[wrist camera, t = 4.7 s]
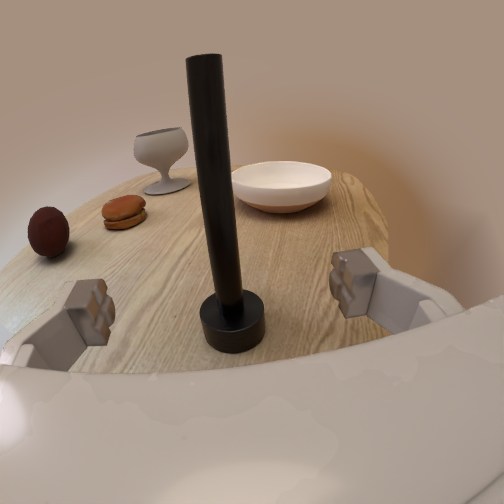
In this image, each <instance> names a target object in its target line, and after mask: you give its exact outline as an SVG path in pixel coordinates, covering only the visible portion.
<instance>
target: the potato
mask: <svg viewBox="0 0 504 504" xmlns="http://www.w3.org/2000/svg"><path fill="white" fill-rule="evenodd" d="M28 239H29V242H30V244H31V247H32V248H33V250H34V251H35V252H36V253H38V254H39V255H41V256H45V257H54V256H56V255H58V254H60V253H61V252H62V251H63V250H64V249H65V247H66V245H67V243H68V240H69V225H68V221H67V220H66V218H65V216H64V215H63V213H62V212H61V211H59V210H58V209H56V208H55V207H43V208H40V209H39V210H37V211H36V212H35V213H34V214H33V216H32V218H31V219H30V222H29V226H28Z"/></svg>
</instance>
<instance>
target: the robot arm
mask: <svg viewBox="0 0 504 504" xmlns="http://www.w3.org/2000/svg"><path fill="white" fill-rule="evenodd" d="M331 264H332V265H333V267H334V269H333V270H332V271H331V272H330V276H329V286H330V291H331V294H332V296H333V297H334V298H335V299H336V300H338V301H339V306H338V307H339V308H340V310H341V312H342V314H343V316H344V317H345V319H347V318H352V317H358V316H363V315H367V317H369V318H370V319H372V320H373V321H375V322H376V323H378V324H379V325H381V326H382V327H383V328H385V329H386V330H388V331H389V332H391V333H392V334H394V335H391V336H388V337H384V338H380V339H377V340H373V341H369V342H366V343H362V344H358V345H354V346H350V347H345V348H341V349H337V350H332V351H327V352H323V353H318V354H313V355H308V356H302V357H297V358H291V359H285V360H279V361H273V362H266V363H259V364H252V365H245V366H237V367H228V368H219V369H208V370H196V371H182V372H164V373H87V372H69V371H68V370H69V369H70V368H71V366H72V365H73V364H74V363H75V361H76V360H77V359H78V358H79V357H80V356H81V354H82V353H83V352H84V351H85V350H86V348H87V346H107V343H108V340H109V337H110V333H111V331H110V329H109V327H110V326H111V325H112V324H113V323H114V320H115V306H114V302H113V300H112V298H111V297H110V296H109V295H107V294H106V292H107V289H108V288H107V285H106V283H105V281H104V280H103V279H89V280H76V281H69V282H66V283H65V285H64V287H63V288H62V290H61V292H60V294H59V295H58V297H57V299H56V301H55V302H54V304H53V306H52V308H51V309H47V310H46V311H44V312H43V313H42V314H41V315H39V316H38V317H37V318H35V319H34V320H33V321H32V322H30V323H29V324H28V325H26V326H25V327H24V328H23V329H22V330H20V331H19V332H18V333H17V334H15V335H14V336H13V337H12V338H10V339H9V340H8V341H7V342H6V344H5V346H4V348H3V350H2V352H1V354H0V504H504V294H502V295H500V296H498V297H496V298H494V299H491V300H489V301H487V302H484V303H482V304H480V305H477V306H475V307H472V308H470V309H467V310H465V309H464V308H463V307H462V306H461V304H460V303H459V302H458V301H457V300H456V299H455V298H454V297H453V296H452V294H450V292H448V291H446V290H443V289H441V288H439V287H436V286H434V285H432V284H430V283H428V282H425V281H423V280H421V279H418V278H416V277H414V276H411V275H409V274H407V273H404V272H402V271H400V270H397V269H396V270H393V269H392V268H391V267H390V266H389V264H388V263H387V262H386V261H385V260H384V259H383V258H382V257H381V256H380V255H379V253H378V252H377V251H376V250H375V249H374V248H372V247H366V248H360V249H354V250H348V251H341V252H334V253H333V255H332V259H331Z"/></svg>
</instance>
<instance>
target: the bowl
mask: <svg viewBox="0 0 504 504" xmlns="http://www.w3.org/2000/svg"><path fill="white" fill-rule="evenodd" d="M231 174H232V185H233V191H234V193H235V195H236V196H237V197H238V198H240V199H241V200H242V201H244V202H245V203H246V204H248V205H250V206H252V207H255V208H257V209H259V210H262V211H265V212H270V213H292V212H297V211H300V210H303V209H305V208H307V207H310V206H312V205H314V204H316V203H317V202H318V201H320V200H321V199H322V198H323V197H325V196H326V194H327V193H328V190H329V188H330V186H331V180H332V174H331V172H330V171H329V170H327V169H325V168H323V167H321V166H317V165H314V164H309V163H302V162H291V161H290V162H289V161H275V162H263V163H256V164H251V165H247V166H244V167H241V168H238V169H236V170H235V171H233V172H232V173H231Z"/></svg>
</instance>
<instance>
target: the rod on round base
mask: <svg viewBox="0 0 504 504" xmlns="http://www.w3.org/2000/svg"><path fill="white" fill-rule="evenodd" d="M186 70H187V83H188V95H189V105H190V115H191V125H192V134H193V143H194V152H195V160H196V168H197V176H198V184H199V191H200V198H201V205H202V212H203V219H204V226H205V233H206V239H207V245H208V252H209V258H210V264H211V270H212V276H213V282H214V287H215V293H214V294H212V295H211V296H209V297H208V298H207V299H206V300H205V301H204V302H203V304H202V305H201V308H200V318H201V322H202V326H203V330H204V334H205V338H206V340H207V342H208V343H209V344H210V345H211V346H212V347H213V348H215V349H216V350H218V351H221V352H225V353H240V352H244V351H247V350H250V349H251V348H253V347H255V346H256V345H257V344H258V343H259V342H260V341H261V340H262V338H263V336H264V333H265V317H264V304H263V302H262V300H261V299H260V298H259V297H258V296H257V295H256V294H255V293H253V292H251V291H248V290H244V289H242V279H241V269H240V259H239V249H238V239H237V228H236V218H235V207H234V196H233V185H232V174H231V163H230V151H229V140H228V128H227V115H226V103H225V90H224V78H223V63H222V55H221V54H201V55H195V56H191V57H188V58H186Z"/></svg>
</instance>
